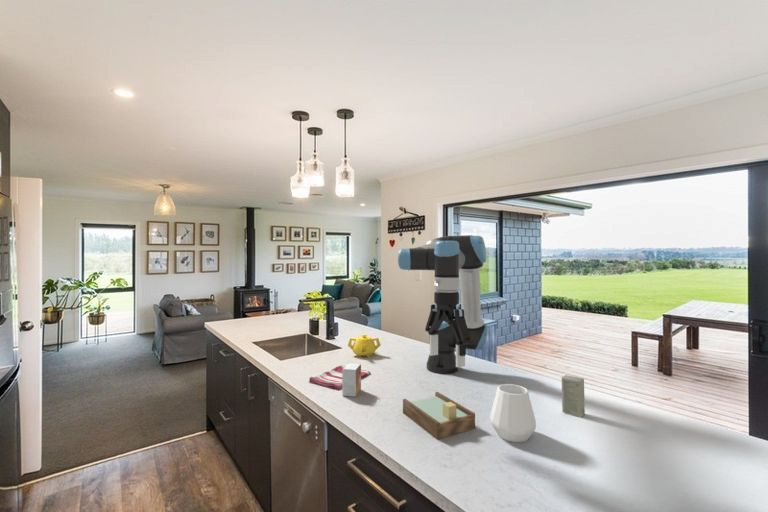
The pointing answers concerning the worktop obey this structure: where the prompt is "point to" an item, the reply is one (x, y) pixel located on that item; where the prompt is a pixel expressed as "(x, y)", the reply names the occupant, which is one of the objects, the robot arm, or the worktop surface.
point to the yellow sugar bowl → (364, 345)
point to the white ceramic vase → (512, 413)
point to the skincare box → (573, 395)
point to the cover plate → (439, 409)
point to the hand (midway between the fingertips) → (446, 360)
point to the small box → (351, 380)
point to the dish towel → (333, 378)
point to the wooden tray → (440, 428)
